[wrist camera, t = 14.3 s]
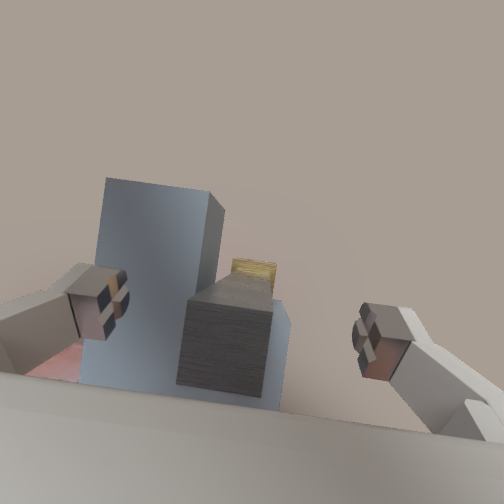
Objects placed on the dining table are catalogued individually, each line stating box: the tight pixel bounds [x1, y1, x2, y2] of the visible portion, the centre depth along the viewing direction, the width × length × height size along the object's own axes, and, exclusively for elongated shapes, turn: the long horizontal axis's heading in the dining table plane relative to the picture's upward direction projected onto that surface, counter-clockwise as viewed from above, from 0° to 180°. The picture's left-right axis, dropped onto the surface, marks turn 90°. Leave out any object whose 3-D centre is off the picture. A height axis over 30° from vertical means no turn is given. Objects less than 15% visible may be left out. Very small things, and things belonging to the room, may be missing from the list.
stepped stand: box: [78, 178, 291, 411], centre depth 27 cm, size 16×10×26 cm, turn 88°
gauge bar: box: [176, 258, 277, 399], centre depth 20 cm, size 4×20×4 cm, turn 176°
